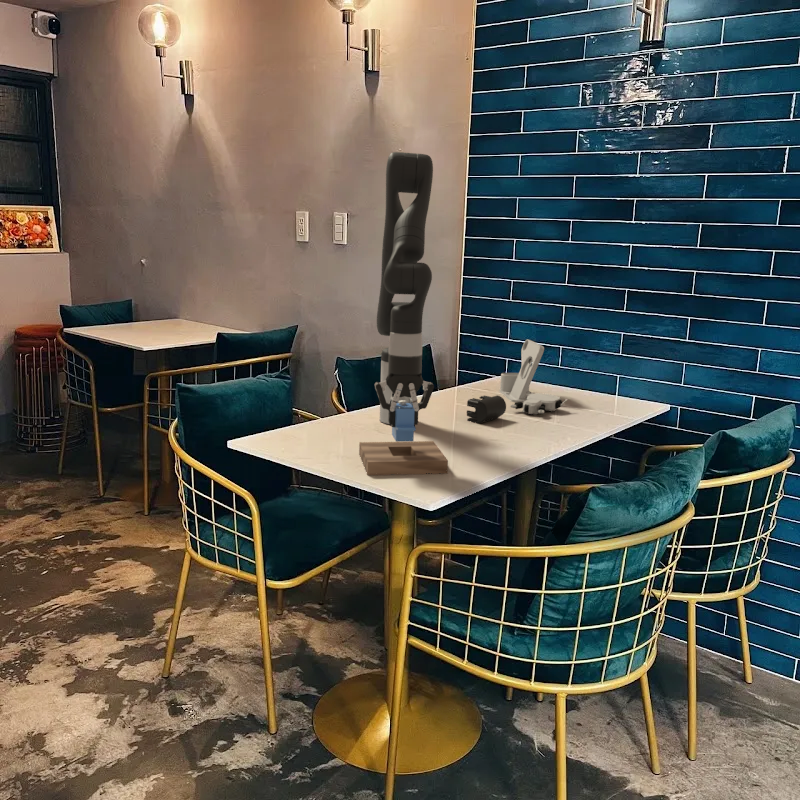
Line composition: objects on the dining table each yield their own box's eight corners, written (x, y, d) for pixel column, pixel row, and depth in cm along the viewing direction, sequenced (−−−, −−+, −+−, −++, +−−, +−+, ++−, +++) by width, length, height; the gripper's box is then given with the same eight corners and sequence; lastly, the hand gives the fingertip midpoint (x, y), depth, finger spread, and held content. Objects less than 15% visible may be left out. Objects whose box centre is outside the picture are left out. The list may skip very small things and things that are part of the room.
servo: (415, 443, 179) (416, 407, 177) (397, 443, 178) (398, 407, 176) (407, 432, 188) (408, 397, 186) (390, 432, 188) (391, 397, 186)
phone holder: (497, 390, 269) (500, 338, 265) (526, 390, 271) (530, 338, 267) (512, 402, 252) (515, 346, 249) (542, 402, 254) (546, 346, 250)
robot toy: (543, 422, 232) (568, 410, 243) (543, 407, 231) (568, 396, 242) (507, 415, 239) (533, 403, 250) (507, 400, 238) (533, 390, 249)
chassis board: (359, 454, 191) (359, 442, 190) (432, 453, 194) (433, 441, 193) (367, 475, 175) (367, 462, 175) (447, 473, 178) (447, 460, 178)
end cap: (486, 425, 222) (487, 402, 221) (465, 421, 227) (466, 397, 225) (505, 419, 230) (507, 396, 228) (485, 415, 234) (486, 393, 233)
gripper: (376, 354, 174) (374, 431, 178) (439, 355, 176) (436, 430, 180) (371, 349, 181) (370, 422, 185) (433, 349, 184) (430, 422, 187)
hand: (403, 426), depth 183 cm, fingers closed on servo, 4 cm apart
